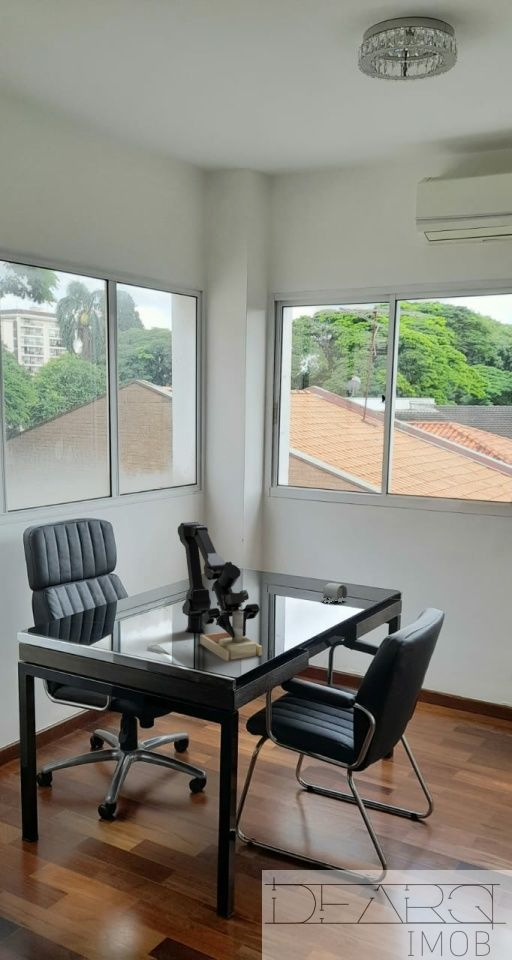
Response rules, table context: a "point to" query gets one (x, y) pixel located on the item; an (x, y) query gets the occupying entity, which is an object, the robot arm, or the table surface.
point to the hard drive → (158, 648)
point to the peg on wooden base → (238, 640)
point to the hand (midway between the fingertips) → (239, 636)
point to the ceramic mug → (334, 591)
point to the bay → (211, 644)
